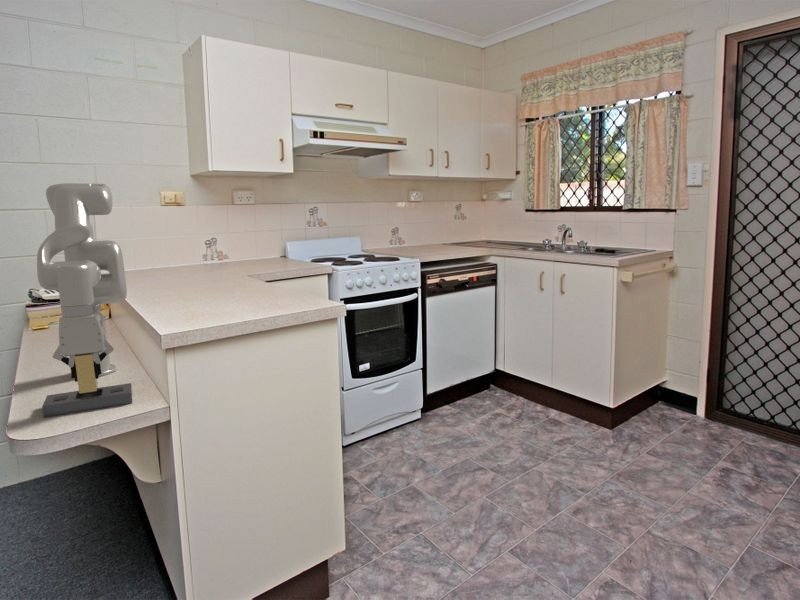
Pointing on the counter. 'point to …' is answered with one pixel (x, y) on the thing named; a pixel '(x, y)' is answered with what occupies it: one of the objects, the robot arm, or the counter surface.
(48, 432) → the counter surface
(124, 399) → the grey peg hole board
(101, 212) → the robot arm
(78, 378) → the brass peg
